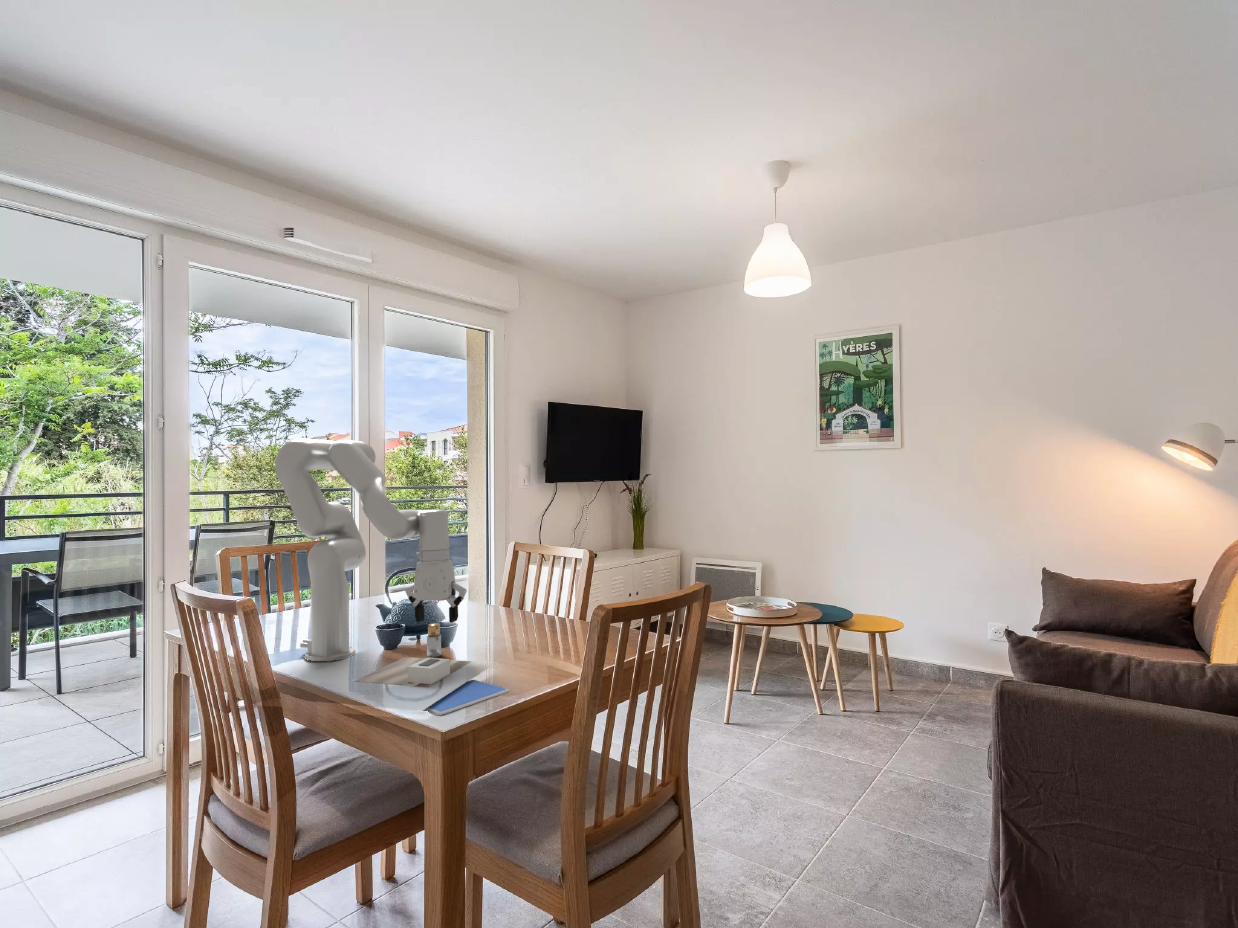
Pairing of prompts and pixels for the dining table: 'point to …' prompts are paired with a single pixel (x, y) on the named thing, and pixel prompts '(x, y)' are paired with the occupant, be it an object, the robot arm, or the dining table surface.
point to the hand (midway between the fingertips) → (436, 621)
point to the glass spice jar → (433, 640)
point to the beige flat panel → (403, 672)
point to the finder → (428, 670)
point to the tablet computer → (465, 697)
